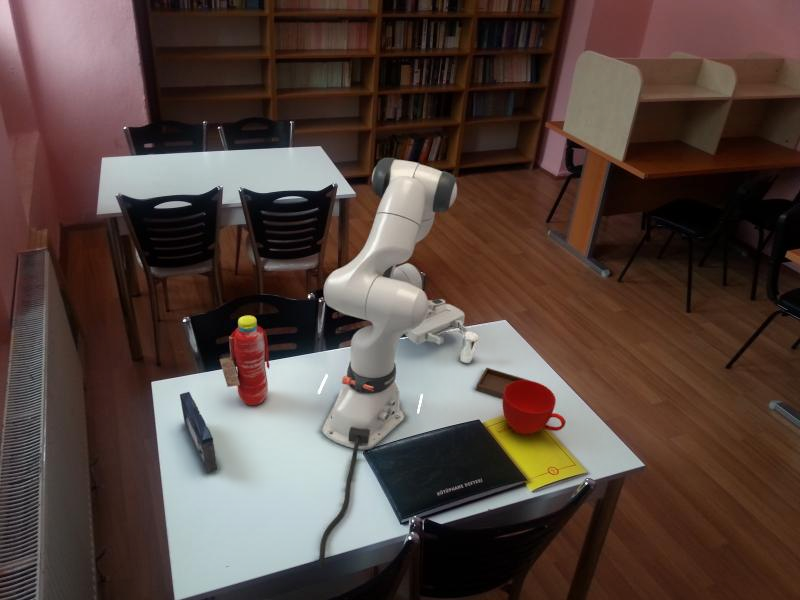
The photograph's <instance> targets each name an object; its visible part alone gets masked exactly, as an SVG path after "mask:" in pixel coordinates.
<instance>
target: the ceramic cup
mask: <svg viewBox="0 0 800 600" xmlns="http://www.w3.org/2000/svg"><path fill="white" fill-rule="evenodd" d="M528 380H529V379H527V380H519V381H514V382H512V383H510V384H508V385H507V386H506V388H505V390H504V394H503V398H502V413H503V416H504V418H505V420H506V422H507V424H508V425H509V426H510V428H511V429H512V431H514V432H516V433H518V434H520V435H524V436H527V435H529V436H530V435H532V434H535V433H537V432H539V431H541V430H542V429H545V430H547V431H554V432H557V431H561V430H562V429H564V427H565V426H566V419H565V418H564V417H563V416H562V415H561V414H559V413H554V410H555V407H556V402H557V400H556V396H555V394H554V392H553V391H552V390H551V389H550V388H549V387H547V386H545V385H544V384H542V383H539V382H537V381H535V380H534V381H533V380H530V381H528ZM552 418H554V419H555V418H556V419H557V420H559V422H560V426H552V425H548V423H549V421H550V419H552Z"/></svg>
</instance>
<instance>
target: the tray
mask: <svg viewBox="0 0 800 600" xmlns="http://www.w3.org/2000/svg"><path fill="white" fill-rule="evenodd" d="M519 380H528V381H531V380H530V379H527V378H523V377H519V376H516V375H512V374H510V373H507V372H503V371H500V370H496V369H492V368H490V367H485V369H484V371H483V373H482V375H481V376H480V378H479V381H478V382H477V383H476V388H475V390H476V391H478V392H481V393H484V394H488V395H491V396H494V397H497V398H501V399H503V394H504V390H505V388H506V386H507V385H508V384H510V383H512V382H514V381H519Z"/></svg>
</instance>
